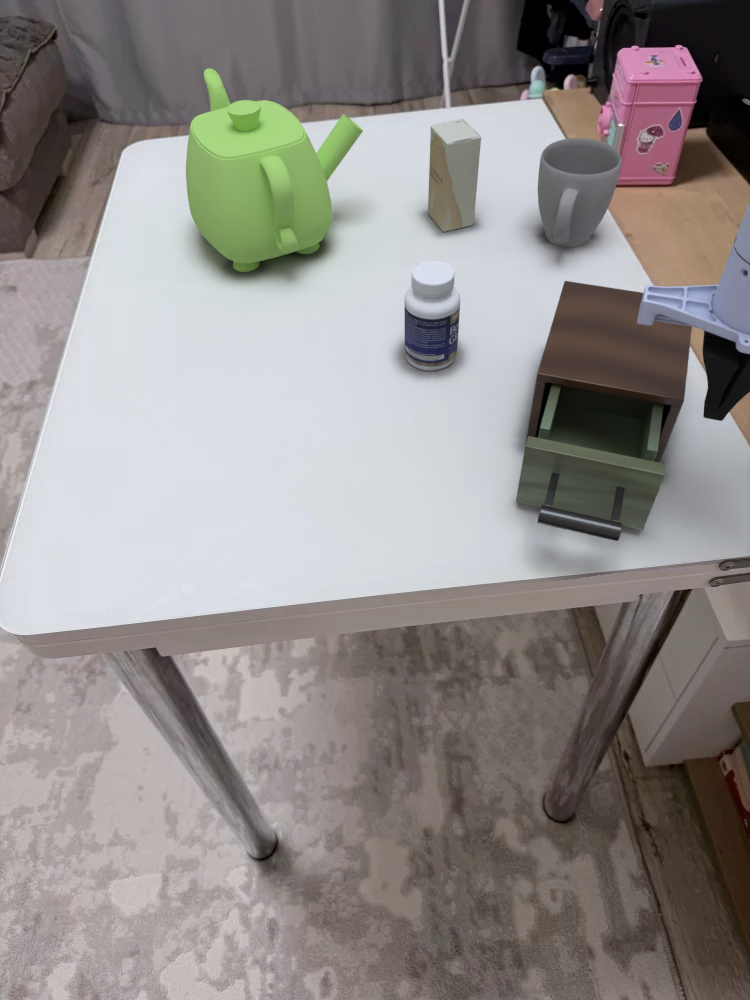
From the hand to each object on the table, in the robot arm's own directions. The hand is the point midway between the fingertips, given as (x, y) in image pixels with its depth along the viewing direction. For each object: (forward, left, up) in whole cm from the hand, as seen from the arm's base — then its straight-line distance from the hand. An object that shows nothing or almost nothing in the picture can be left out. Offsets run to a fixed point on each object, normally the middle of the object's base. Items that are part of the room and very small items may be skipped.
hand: (713, 410), depth 56 cm
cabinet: (+3, -11, -9) cm, 15 cm away
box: (+9, -47, -10) cm, 49 cm away
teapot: (+30, -50, -10) cm, 59 cm away
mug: (-3, -39, -10) cm, 40 cm away
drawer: (+8, -2, -9) cm, 12 cm away
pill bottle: (+17, -22, -10) cm, 29 cm away
